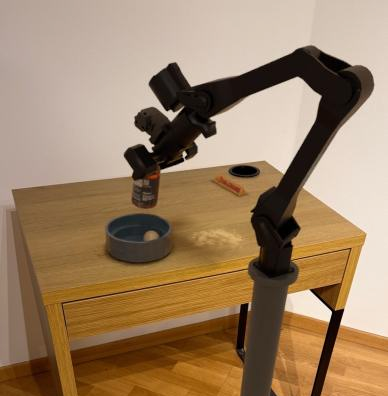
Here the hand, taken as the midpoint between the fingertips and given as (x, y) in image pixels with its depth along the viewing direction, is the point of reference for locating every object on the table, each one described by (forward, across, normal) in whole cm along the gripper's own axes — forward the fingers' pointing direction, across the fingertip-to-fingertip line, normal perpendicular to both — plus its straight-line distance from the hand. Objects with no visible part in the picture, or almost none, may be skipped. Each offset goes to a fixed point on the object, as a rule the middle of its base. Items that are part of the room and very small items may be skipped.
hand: (142, 174), depth 109 cm
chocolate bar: (+7, -34, +11) cm, 36 cm away
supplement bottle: (+5, 0, +5) cm, 7 cm away
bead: (+1, +7, +13) cm, 15 cm away
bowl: (+5, +9, +13) cm, 16 cm away
